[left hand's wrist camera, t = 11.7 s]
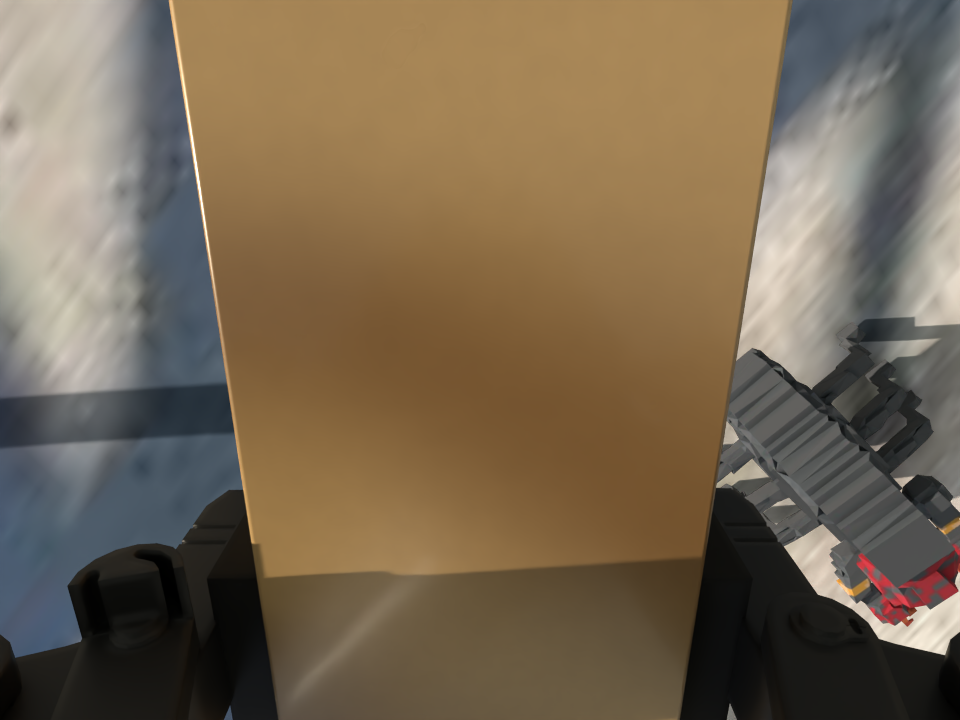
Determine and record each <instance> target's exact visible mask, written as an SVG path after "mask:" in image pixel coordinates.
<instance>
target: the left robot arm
mask: <svg viewBox="0 0 960 720" xmlns="http://www.w3.org/2000/svg"><path fill="white" fill-rule="evenodd" d="M68 590H69V593H70V597H71V600H72V604H73V607H74V611H75V614H76V618H77V621H78V625H79V629H80V632H81V636H82V640H81V642H78V643H75V644H72V645H68V646H65V647H61V648H56V649H52V650H48V651H43V652H39V653H35V654H30V655H26V656H22V657H17V658H15V656H14V653H13V650H12V647H11V644H10V642H9V641H8V640H6V639H5V638H4V637H3V636H1V635H0V720H224V718H225V716H226V713H227V711H228V709H229V706H231V712H232V717H233V720H278V714H277V707H276V701H275V694H274V687H273V681H272V674H271V668H270V661H269V655H268V648H267V641H266V635H265V628H264V622H263V615H262V609H261V602H260V595H259V589H258V582H257V576H256V569H255V563H254V556H253V549H252V543H251V536H250V530H249V523H248V517H247V510H246V503H245V497H244V490H228V491H227V492H226V493H224V494H223V495H221V496H220V497H219V498H217V499H216V500H214V501H213V502H211V503H210V504H209V505H207V506H206V507H205V509H204V510H203V512H202V513H201V515H200V516H199V517H198V519H197V520H196V522H195V523H194V524H193V529H190V530H189V532H188V533H187V534H186V536H185V537H184V539H183V540H182V544H179V546H178V547H177V549H175V548H173V547H170V546H166V545H162V544H158V543H156V544H137V545H133V546H130V547H126V548H122V549H118V550H115V551H113V552H110V553H108V554H106V555H104V556H102V557H100V558H97V559H95V560H94V561H92V562H91V563H90V564H88V565H87V566H86V567H84V568H83V569H82V570H80V571H79V572H78V573H77V574H76V575H75V577H74V578H73V579H72V581H71V582H70V583H69V585H68ZM729 704H731V706H732V709H733V711H734V714H735V716H736V718H737V720H960V632H959V633H958V634H957V635H955V636H954V637H953V638H952V639H951V640H950V642H949V645H948V648H947V651H946V654H945V655H941V654H937V653H933V652H928V651H924V650H919V649H915V648H911V647H906V646H902V645H898V644H894V643H890V642H887V641H884V640H880V639H878V637H877V635H876V634H875V632H874V631H873V629H872V628H871V626H870V625H869V623H868V622H867V621H865V620H864V619H863V618H862V617H861V616H859V615H858V614H857V613H856V612H855V611H853V610H852V609H850V608H849V607H847V606H845V605H843V604H841V603H839V602H837V601H835V600H833V599H830V598H827V597H824V596H820V595H818V594H817V593H816V592H815V590H814V589H813V587H812V586H811V584H810V583H809V582H808V580H807V579H806V577H805V576H804V575H803V573H802V572H801V570H800V569H799V568H798V566H797V565H796V563H795V562H794V560H793V559H792V558H791V556H790V555H789V553H788V552H787V551H786V549H785V548H784V546H783V545H782V544H781V542H778V538H777V537H776V535H775V534H774V532H773V531H772V529H771V528H770V527H769V526H767V522H766V521H765V520H764V518H763V517H762V515H761V514H760V513H759V511H758V510H757V508H756V507H755V505H754V504H753V503H751V502H750V501H748V500H747V499H746V498H744V497H743V496H741V495H740V494H739V493H737V492H736V491H734V490H733V489H731V488H716V491H715V497H714V504H713V510H712V517H711V523H710V529H709V536H708V542H707V548H706V555H705V561H704V567H703V574H702V580H701V587H700V593H699V599H698V606H697V612H696V618H695V625H694V631H693V637H692V644H691V650H690V657H689V663H688V669H687V676H686V682H685V688H684V695H683V701H682V707H681V714H680V720H727V715H728V709H729Z"/></svg>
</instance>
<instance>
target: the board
mask: <svg viewBox="0 0 960 720" xmlns="http://www.w3.org/2000/svg"><path fill="white" fill-rule="evenodd" d="M792 1H793V0H169V4H170V11H171V18H172V24H173V31H174V37H175V44H176V50H177V57H178V63H179V70H180V77H181V83H182V90H183V96H184V103H185V109H186V116H187V123H188V129H189V136H190V142H191V149H192V155H193V162H194V169H195V175H196V182H197V188H198V195H199V201H200V208H201V215H202V221H203V228H204V234H205V241H206V247H207V254H208V260H209V267H210V274H211V280H212V287H213V293H214V300H215V306H216V313H217V320H218V326H219V333H220V339H221V346H222V352H223V359H224V366H225V372H226V379H227V385H228V392H229V398H230V405H231V412H232V418H233V425H234V431H235V438H236V444H237V451H238V458H239V464H240V471H241V477H242V484H243V490H244V497H245V503H246V510H247V517H248V523H249V530H250V536H251V543H252V549H253V556H254V563H255V569H256V576H257V582H258V589H259V595H260V602H261V609H262V615H263V622H264V628H265V635H266V641H267V648H268V655H269V661H270V668H271V674H272V681H273V687H274V694H275V701H276V707H277V714H278V720H680V714H681V707H682V701H683V695H684V688H685V682H686V676H687V669H688V663H689V657H690V650H691V644H692V637H693V631H694V625H695V618H696V612H697V606H698V599H699V593H700V587H701V580H702V574H703V567H704V561H705V555H706V548H707V542H708V536H709V529H710V523H711V517H712V510H713V504H714V497H715V491H716V485H717V478H718V472H719V466H720V459H721V453H722V447H723V440H724V434H725V428H726V421H727V415H728V408H729V402H730V396H731V389H732V383H733V377H734V370H735V364H736V358H737V351H738V345H739V338H740V332H741V326H742V319H743V313H744V307H745V300H746V294H747V288H748V281H749V275H750V269H751V262H752V256H753V249H754V243H755V237H756V230H757V224H758V218H759V211H760V205H761V199H762V192H763V186H764V179H765V173H766V167H767V160H768V154H769V148H770V141H771V135H772V129H773V122H774V116H775V110H776V103H777V97H778V90H779V84H780V78H781V71H782V65H783V59H784V52H785V46H786V40H787V33H788V27H789V20H790V14H791V8H792Z"/></svg>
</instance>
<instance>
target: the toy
mask: <svg viewBox="0 0 960 720" xmlns="http://www.w3.org/2000/svg"><path fill="white" fill-rule="evenodd" d="M865 335H866V334H865V333H864V332H863V331H862V330H860V329H859V328H858V327H857V326H856V325H855V324H854V323H853V322H851V323H850V324H849V325H847V326H846V327H845V328H844V329H843V330H841V331H840V332H839V333H838V334H836V336H837V337H838V338H839V339H840V340H841V343H840V344H839V346H841V347H843V348H844V349H846V350H847V351H848V352H849V353H851V354H850V355H849V356H847V357H846V358H845V359H844V360H843V361H842V362H841V363H840V364H839V365H838V366H837V367H836V369H835V370H834V371H833V372H832V373H830V374H829V375H828V376H827V377H825V378H824V379H823V380H822V381H820V382H819V383H818V384H817V385H816V386H814V387H813V389H812V390H811V389H810V388H809V387H808V386H806V385H804V384H802V383H800V382H797V381H796V380H795V379H794V378H793V376H792V375H791V374H790V373H789V372H788V371H787V370H785V369H784V368H783V367H782V366H781V365H780V364H779V363H777V362H775V361H773V360H771V359H769V358H768V357H767V356H766V355H765V354H764V353H763V352H762V351H760V350H757V349H753V348H752V349H751V350H749V351H748V352H747V353H746V354H744V355H743V356H742V357H741V358H740V359H738V360H737V361H736V364H735V370H734V377H733V383H732V389H731V396H730V402H729V408H728V415H727V422H728V423H729V424H730V425H731V426H732V427H733V428H734V430H735V432H736V434H737V436H738V438H739V440H738V441H737V442H735V443H734V444H733V445H732V446H731V447H730V448H728V449H727V450H725V451H723V452H722V453H721V459H720V466H719V472H718V478H717V483H718V482H719V481H720V480H721V479H723V478H724V477H725V476H726V475H728V474H729V473H730V472H731V471H732V473H733V474H734V473H735V472H737V471H738V470H739V469H740V468H741V467H742V466H744V465H745V464H746V463H747V462H748V461H749V460H751V459H752V458H753V460H754V461H755V462H756V463H757V464H758V465H759V466H760V468H761V469H762V470H763V471H764V472H765V473H766V474H767V475H768V476H769V477H770V478H771V479H772V480H773V481H769V482H768V483H766V484H765V485H763V486H762V487H760V488H759V489H757V490H756V491H754V492H753V493H751V494H750V495H748V496H747V495H746V494H745V493H744V492H743V491H742V493H740V492H739V491H738V490H737V489H735V488H734V487H732V486H730V485H728V484H725V485H724V486H722V487H721V488H731V489H733V490H734V491H736V492H737V493H739V494H740V495H741V496H743V497H744V498H746V499H747V500H748V501H750V502H751V503H753V504H754V505H755V507H756V508H757V510H758V511H759V513H760V514H761V515H762V517H763V518H764V520H765V521H766V522H767V526H769V527H770V528H771V529H772V531H773V532H774V534H775V535H776V537H777V538H778V542H781V544H782V545H783V546H785V545H787V544H789V543H791V542H793V541H795V540H797V539H798V538H800V537H802V536H804V535H806V534H807V533H808V532H810V531H812V530H813V529H815V528H817V527H818V526H820V525H821V524H823V525H824V526H825V527H826V528H827V529H828V530H829V531H830V532H831V533H832V534H833V535H834V536H835V537H836V538H837V539H838V540H839V541H840V542H841V543H840V544H838V545H836V546H835V547H833V548H832V549H831V550H832V552H831V553H830V554H829V555H830V556H831V557H832V559H833V560H834V561H832V562H831V563H832V564H833V565H834V567H835V568H836V569H837V570H836V571H835V574H836V575H837V576H838V578H839V579H838V580H837V582H838V583H839V584H840V586H841V587H842V588H843V589H844V590H845V591H846V592H847V594H848V595H849V596H850V597H851V598H852V599H853V600H854V601H855V602H856V604H857V603H858V602H859V601H862V602H864V603H865V604H866V605H867V606H868V608H869V609H870V610H871V611H872V612H873V614H874V615H875V616H876V617H877V618H878V619H879V620H880V621H881V622H882V623H883V624H884V623H890V624H892V625H894V626H895V625H897V624H898V623H900V622H901V621H902V622H903V623H904V624H905V625H906V626H907V627H908V626H909V625H910V624H911V623H912V621H913V618H912V619H910V620H907V618H906V617H908V616H911V615H912V614H914V613H915V612H916V611H917V610H916V609H915V608H914V607H919V606H924V605H927V607H928V608H929V609H932V608H934V607H935V606H937V605H938V604H940V603H941V602H943V601H944V600H946V599H947V598H949V597H950V596H952V595H954V594H955V593H957V592H958V589H957V587H956V585H955V580H956V577H957V574H958V571H959V572H960V520H959V518H960V512H959V511H958V510H957V509H956V508H955V507H954V506H953V505H952V504H951V502H950V501H951V500H952V498H953V496H952V495H951V494H950V492H949V491H948V490H947V489H946V488H945V487H944V485H943V484H941V483H940V482H939V481H937V480H936V479H935V478H933V477H932V476H922V475H916V476H915V477H914V478H913V479H912V480H910V481H909V482H908V483H907V484H906V485H905V486H904V487H903V488H902V487H901V486H900V485H899V484H898V483H897V482H896V481H895V480H894V479H893V478H892V476H891V475H890V473H891V472H892V471H893V470H894V469H895V468H897V467H898V466H899V465H900V464H901V463H902V462H903V461H905V460H906V459H907V458H908V457H909V456H910V455H911V454H912V453H913V452H914V451H916V450H917V449H918V448H919V447H920V446H921V445H922V444H923V443H924V442H925V441H926V440H927V439H928V438H929V437H930V436H931V434H932V433H933V432H934V431H933V430H932V429H931V425H930V420H929V419H927V418H926V417H925V416H923V415H922V414H920V413H919V412H917V411H916V410H915V409H916V408H917V407H918V406H919V405H920V403H921V401H922V399H920V398H919V397H917V396H916V395H915V394H914V393H913V392H912V391H911V390H910V391H909V392H908V393H906V392H905V391H904V390H903V389H902V388H901V387H899V386H898V385H896V384H895V383H893V382H892V381H890V380H889V379H888V378H889V377H890V376H891V375H892V374H893V373H894V371H895V370H896V369H895V368H894V367H893V366H892V365H891V364H890V363H888V362H887V361H886V360H884V361H883V362H881V363H880V364H879V365H877V366H876V367H875V368H874V369H872V370H871V371H870V372H868V373H867V374H866V375H865V376H866V378H867V379H868V380H869V381H870V382H871V383H873V384H874V385H876V386H877V387H879V389H878V390H877V391H878V392H879V393H880V394H878V395H877V396H875V397H874V398H873V399H872V400H871V401H870V402H869V403H868V404H867V405H866V406H864V407H863V408H862V409H861V410H860V411H859V412H858V413H857V414H856V415H855V416H854V417H853V418H852V420H851V422H850V423H849V422H848V421H847V420H846V419H845V418H844V417H843V416H842V415H841V414H840V413H839V412H838V410H837V409H836V408H835V407H834V406H833V405H832V404H831V403H832V401H833V400H834V399H835V398H836V397H838V396H839V395H840V394H841V393H842V392H843V391H845V390H846V389H847V388H848V387H849V386H850V385H852V384H853V383H854V382H855V381H856V380H857V379H859V378H860V377H861V376H862V375H863V374H864V373H865V372H866V371H867V370H868V369H869V368H870V367H872V366H873V365H874V362H873V361H872V360H871V359H870V358H869V357H868V356H869V355H870V354H872V353H870V352H869V351H867V350H866V349H865V348H863V347H862V346H860V345H859V344H858V343H859V342H860V341H861V340H862V339H863V338H864V336H865ZM897 410H898V411H899V412H900V413H901V414H902V415H903V416H905V417H906V418H907V425H906V426H905V427H904V428H903V429H902V430H901V431H899V432H898V433H897V434H896V435H895V436H894V437H893V438H892V439H890V440H889V442H887V443H886V444H885V445H883V446H882V447H881V448H880V449H879V450H878V451H876V452H875V451H874V450H873V449H872V448H871V447H870V446H869V445H868V444H867V443H866V441H865V439H867V438H868V437H869V436H871V435H872V434H874V433H875V432H876V431H878V430H879V429H881V428H882V426H883V424H884V423H885V421H886V420H887V418H888V417H889V416H891V415H892V414H893V413H894V412H896V411H897ZM901 489H902V493H901V492H900V490H901ZM786 498H790V499H791V500H792V501H793V502H794V503H795V504H796V505H797V506H798V507H799V508H800V509H801V510H800V511H798V512H797V513H795V514H793V515H791V516H789V517H788V518H786V519H785V520H783V521H782V522H780V523H778V524H777V525H776V524H774V523H772V522H771V521H770V520H769V519H768V518H767V517H766V516H765V515H764V514H763V512H764V511H765V510H767V509H768V508H770V507H771V506H772V505H774V504H775V503H777V502H779V501H782V500H784V499H786ZM928 519H930V520H931V522H932V523H933V524H934V525H935V526H936V527H937V528H936V527H935V526H934V525H933V524H932V523H931V522H930V521H929V520H928ZM843 540H844V541H843ZM842 541H843V542H842ZM957 570H958V571H957ZM870 580H871V581H872V583H871V581H870Z"/></svg>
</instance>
